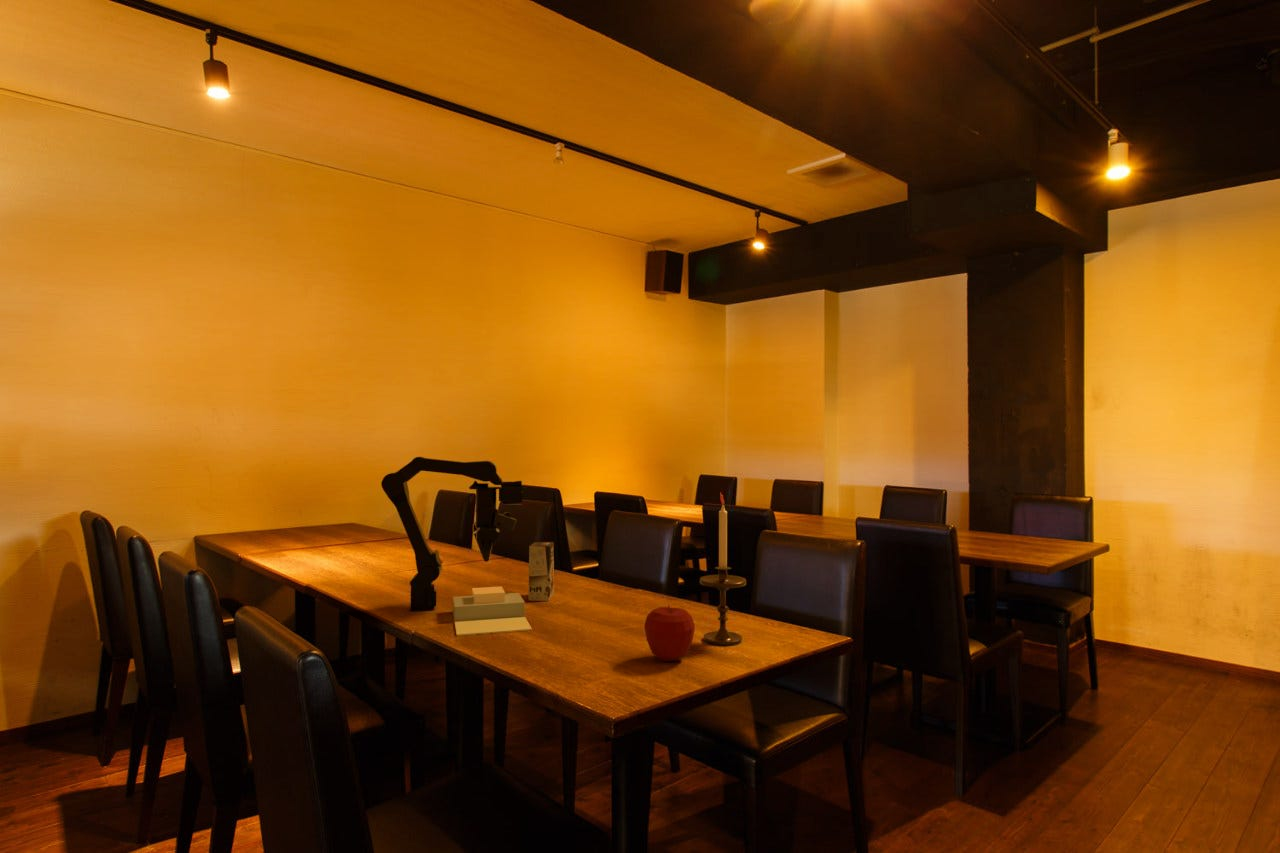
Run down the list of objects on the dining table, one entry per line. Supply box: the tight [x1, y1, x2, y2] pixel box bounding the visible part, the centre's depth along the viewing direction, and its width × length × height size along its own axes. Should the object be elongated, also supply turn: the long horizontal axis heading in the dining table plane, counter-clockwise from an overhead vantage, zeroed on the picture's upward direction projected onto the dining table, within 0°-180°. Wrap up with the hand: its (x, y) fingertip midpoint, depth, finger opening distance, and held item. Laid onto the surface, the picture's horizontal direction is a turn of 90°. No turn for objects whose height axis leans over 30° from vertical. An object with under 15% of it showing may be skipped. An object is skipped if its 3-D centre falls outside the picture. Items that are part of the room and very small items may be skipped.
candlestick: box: [699, 492, 747, 647], centre depth 164 cm, size 11×11×35 cm
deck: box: [452, 592, 526, 623], centre depth 187 cm, size 18×12×4 cm, turn 107°
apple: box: [644, 605, 696, 662], centre depth 149 cm, size 11×11×12 cm
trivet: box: [471, 586, 506, 604], centre depth 187 cm, size 8×8×2 cm
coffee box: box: [528, 541, 555, 602], centre depth 207 cm, size 9×6×16 cm
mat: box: [454, 616, 533, 637], centre depth 174 cm, size 18×12×1 cm, turn 107°
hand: (485, 560), depth 196 cm, fingers open, 5 cm apart
